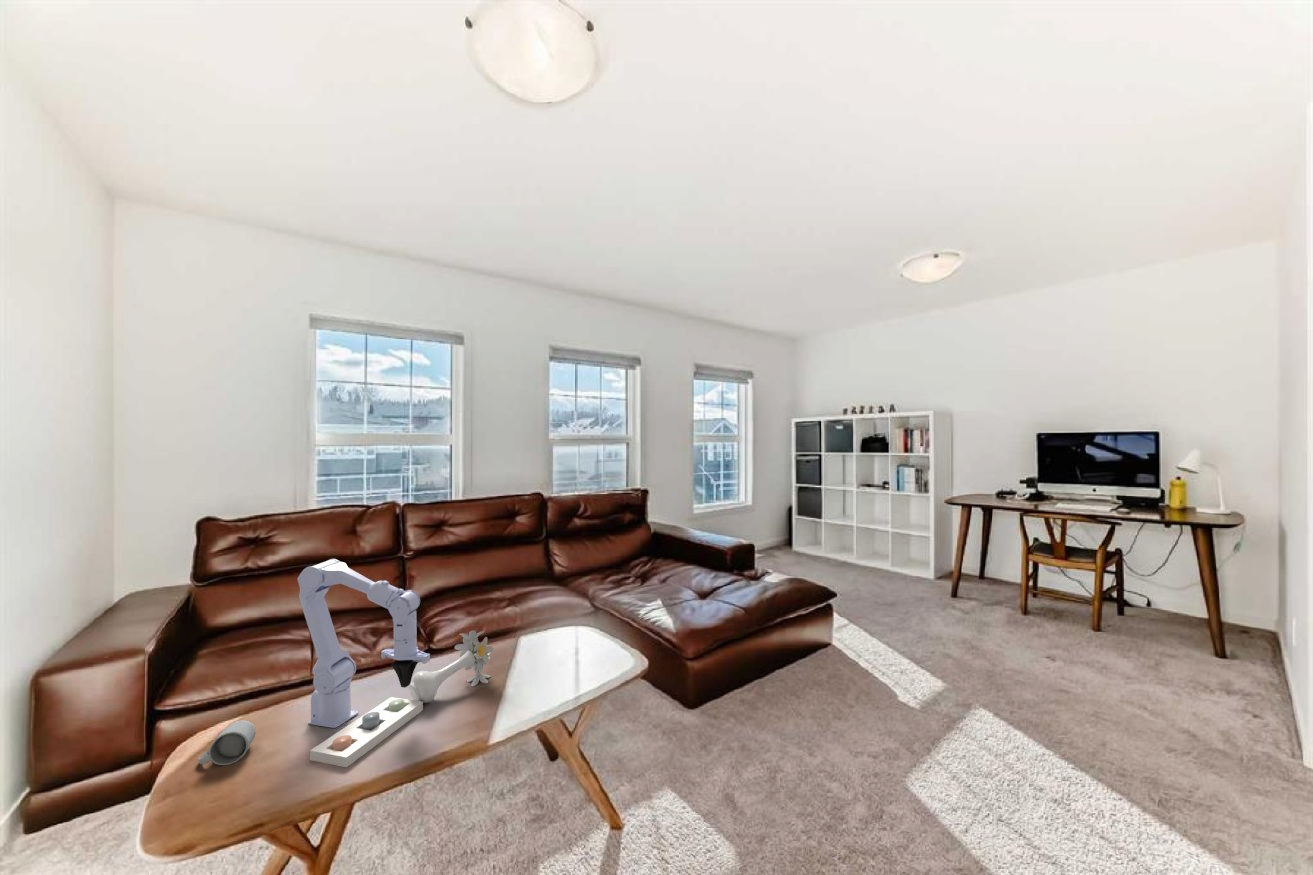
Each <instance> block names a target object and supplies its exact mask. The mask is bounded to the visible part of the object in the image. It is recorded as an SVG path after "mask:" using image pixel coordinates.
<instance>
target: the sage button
mask: <svg viewBox="0 0 1313 875" xmlns="http://www.w3.org/2000/svg"><path fill="white" fill-rule="evenodd" d="M403 699H404V698H401V699H397V700H393V701H391V702H390V703H389V705H388V706H389V711H392V712H398V711H400V710H401V709H403V708H404V700H403Z"/></svg>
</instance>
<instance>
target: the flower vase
mask: <svg viewBox="0 0 1313 875" xmlns="http://www.w3.org/2000/svg"><path fill="white" fill-rule="evenodd" d="M476 632H477V631H476V630H470V631H469V633H459V635H460V636H462V643H458V644H456V645H454V650H456V651H460V655H459V658H458V659H456V660H455V661H453V662H451V663H450V664H448V665H446V666H444V667H443V668H441V669H438V670H435V671H430V670H429V671H427V670H420V671H417V672H415V673H413V675H412V679H411V683H410V685H409V686H407V690H408V692H409V695H410V697H411V698H412V699H411V700H414V701H421V702H423V704H424V703H425V704H427V703H430V702H431V701H433V700H434V698H435V697H436V695H437V693H438V690H439V689H440V687H441V685H442V684H443V683H444V682H445V681H447V679H448V678H450V677H451V676H453V675H454V674H456V673H457V672H459V671H460V670H461V669H464V670H465V671H469V670H471V669H473V670H474V673H475V675H473V676H472V677H470V678H469V679H467V680H466V681H467V683H470V686H471V687H475V686H477V685H478V684H479V682H481V683H482V684H489V680H488V679H489V678H491V677H492V676H491V675H488V674H484V673H481V672H482V671H483V667H484V665H487V664H489V660H490V659H491V657H490V654H491V653H492V652H493V651H494V647H493V646H491V645H490V646H489V645H488V637H487V636H485V637H484V639H483V640H482V641H481V642H479V638H478V637H479V636H481V635H482V634H483V633H484V632H485V630H482V631H479V632H477V633H476Z"/></svg>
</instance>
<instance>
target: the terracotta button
mask: <svg viewBox="0 0 1313 875" xmlns="http://www.w3.org/2000/svg"><path fill="white" fill-rule="evenodd" d="M350 745H352V740H351V736H350V735H344V736H340V737H338V738H336V739H335V740H334V741H333V750H335V751H341V752H342V751H343V750H345V749H346V748H348V747H349V746H350Z"/></svg>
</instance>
